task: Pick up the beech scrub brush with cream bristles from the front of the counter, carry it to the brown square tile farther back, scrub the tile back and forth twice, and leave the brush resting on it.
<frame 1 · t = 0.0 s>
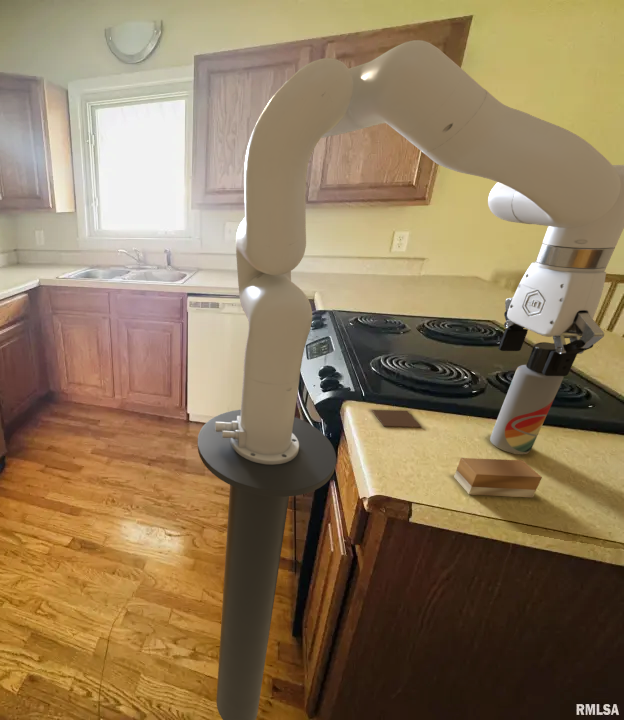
hand: (530, 361, 65), 17 cm above the worktop, tool pointing down, fingers open, 9 cm apart
lotion bottle: (508, 446, 72), on the worktop
scrub brush: (491, 486, 63), on the worktop
brown square tile: (395, 418, 81), on the worktop
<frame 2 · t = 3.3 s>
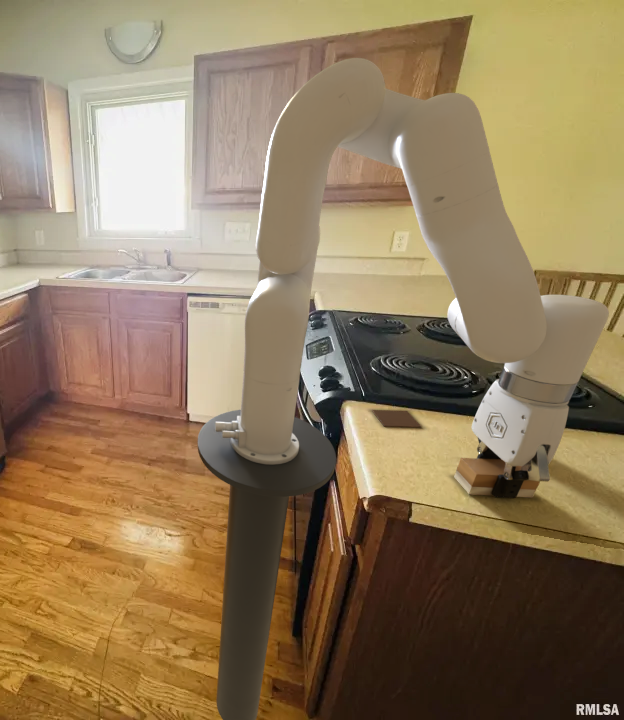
hand: (492, 484, 63), 1 cm above the worktop, tool pointing down, fingers closed on scrub brush, 4 cm apart
scrub brush: (491, 486, 63), on the worktop, touching gripper
everything else where it was.
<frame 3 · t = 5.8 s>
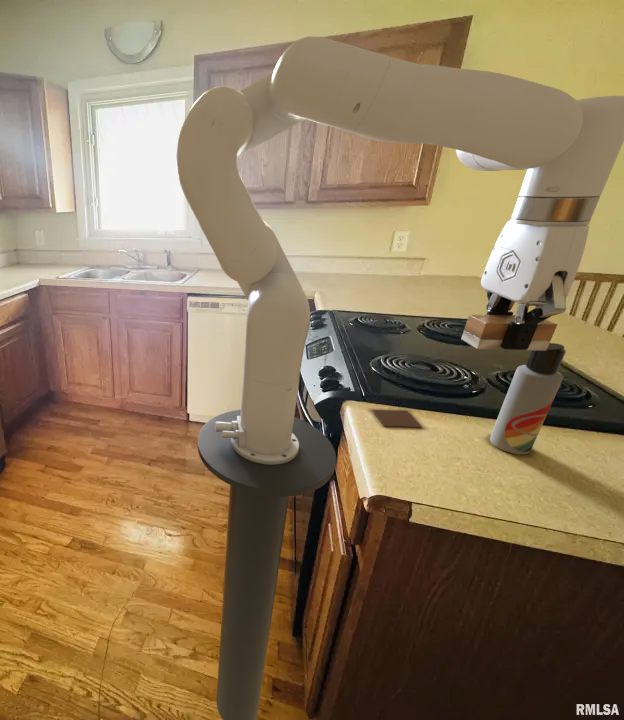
hand: (502, 341, 58), 23 cm above the worktop, tool pointing down, fingers closed on scrub brush, 4 cm apart
scrub brush: (501, 344, 59), point 22 cm above the worktop, touching gripper
everything else where it was.
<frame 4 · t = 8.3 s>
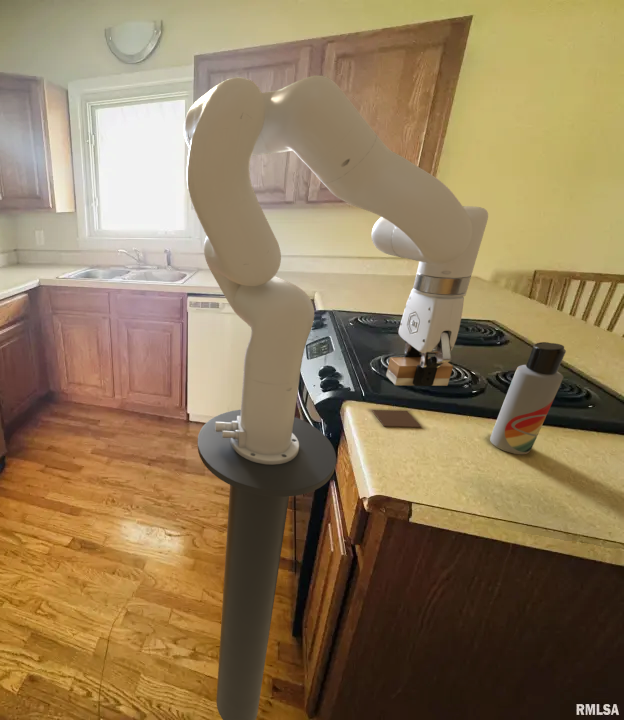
hand: (415, 378, 75), 11 cm above the worktop, tool pointing down, fingers closed on scrub brush, 4 cm apart
scrub brush: (415, 380, 75), point 10 cm above the worktop, touching gripper
everything else where it was.
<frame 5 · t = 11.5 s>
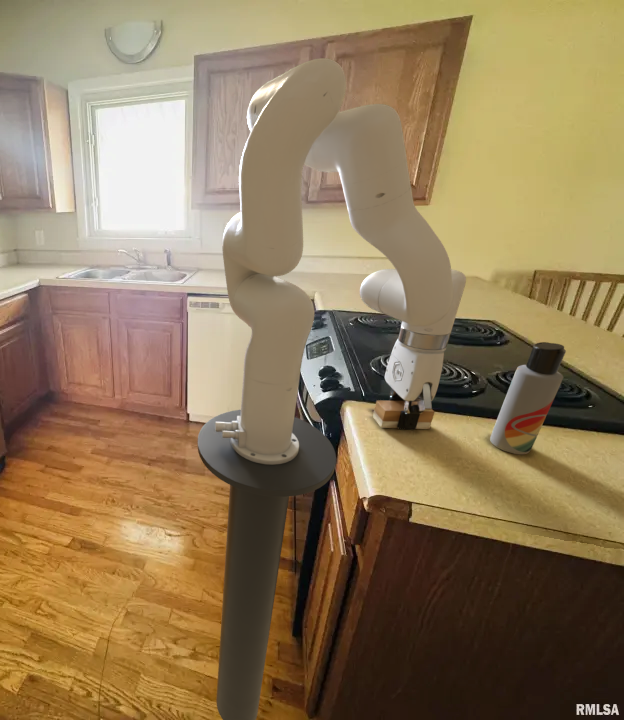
hand: (400, 421, 79), 1 cm above the worktop, tool pointing down, fingers closed on scrub brush, 4 cm apart
scrub brush: (400, 422, 79), resting on brown square tile, touching gripper
everything else where it was.
when the fingers open (1 cm above the worktop, at t = 13.6 s): scrub brush stays where it is, resting on brown square tile.
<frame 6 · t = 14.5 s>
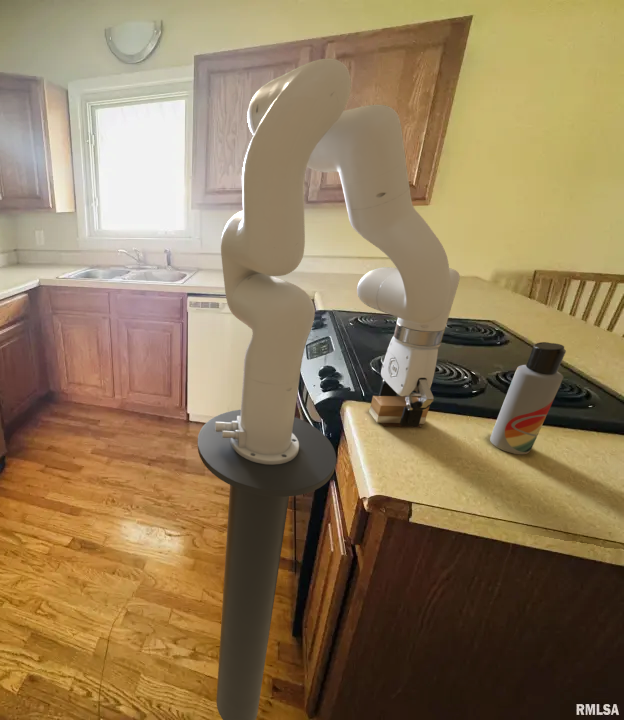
hand: (397, 412, 80), 2 cm above the worktop, tool pointing down, fingers open, 9 cm apart
scrub brush: (395, 417, 81), resting on brown square tile
everything else where it was.
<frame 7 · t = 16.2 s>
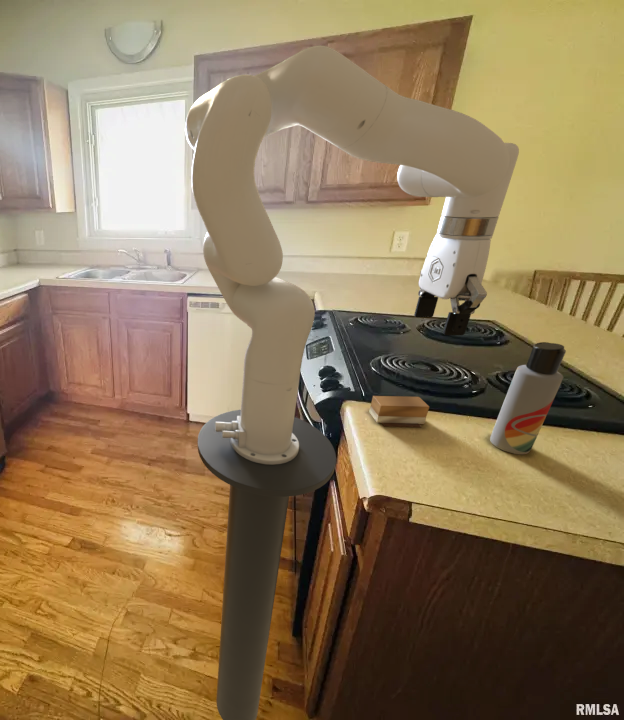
hand: (437, 325, 72), 20 cm above the worktop, tool pointing down, fingers open, 9 cm apart
nothing on the worktop moved.
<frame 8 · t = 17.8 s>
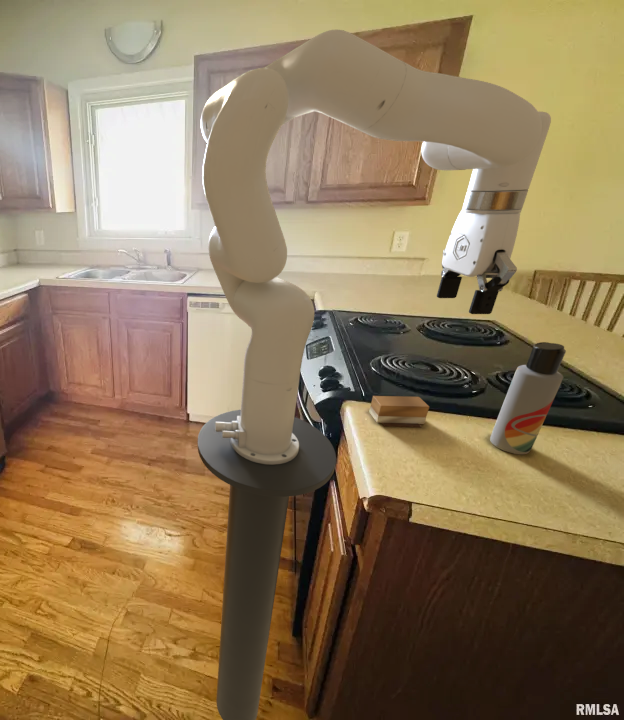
hand: (461, 305, 70), 24 cm above the worktop, tool pointing down, fingers open, 9 cm apart
nothing on the worktop moved.
at the end: scrub brush 0.1 cm off-centre on the brown square tile, point 0.2 cm above the brown square tile's base; scrub brush tilted 0°; the gripper is holding nothing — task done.
